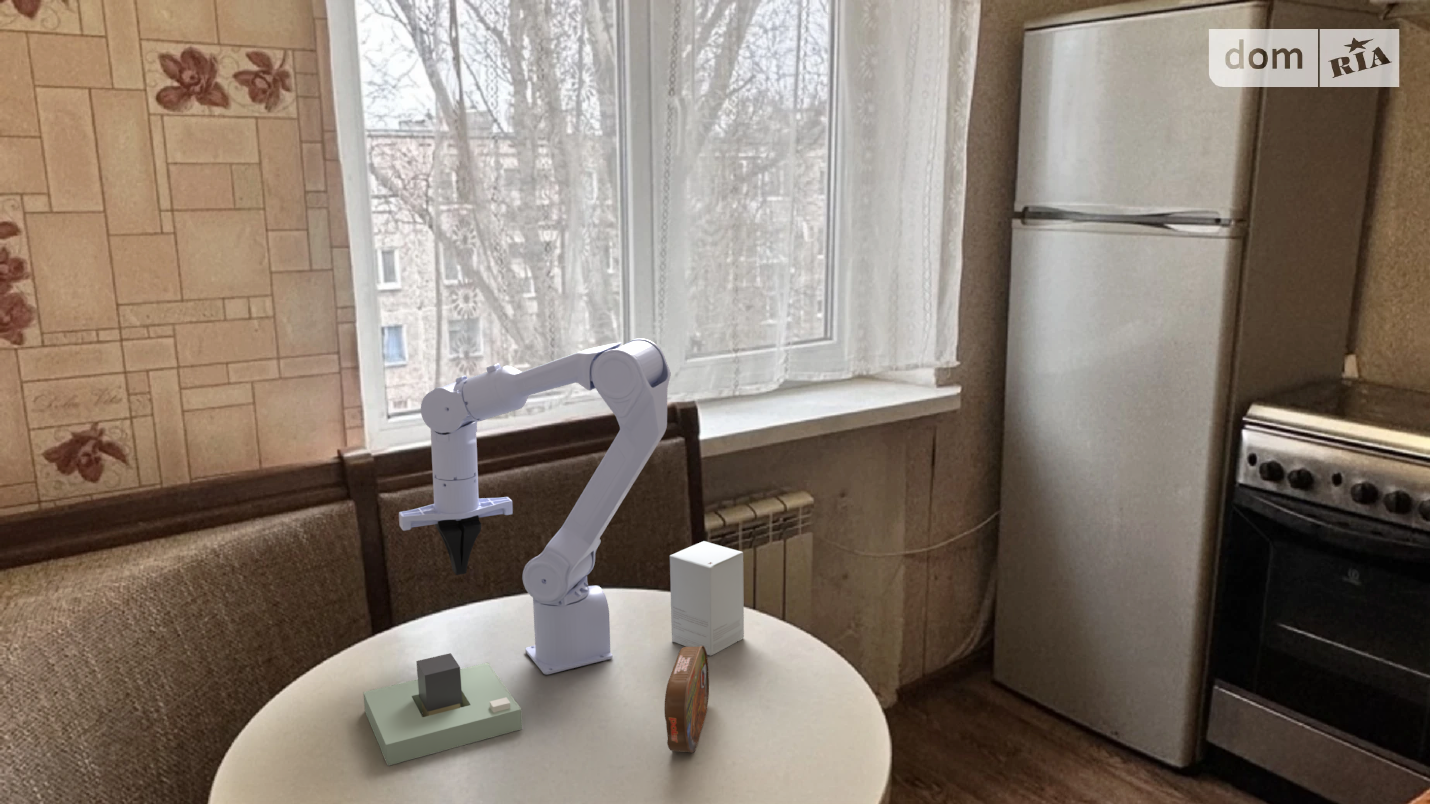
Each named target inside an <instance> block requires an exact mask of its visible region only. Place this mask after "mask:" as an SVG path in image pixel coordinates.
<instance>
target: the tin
mask: <svg viewBox="0 0 1430 804" xmlns="http://www.w3.org/2000/svg"><path fill="white" fill-rule="evenodd" d="M708 660H709V659H708V655H707V652H706V649H705V647H704V646H700V647H686V646H684V647H682V648H680V650H679V652H678V655H677V657H676V660H675V663H674V665H673V666H672V670H671V673H670V675H669V678H668V681H667V684H666V689H665V694H664V695H665V696H664V718H665V724H666V725H665V726H666V736H667V742H666V744H667V747H668V749H669V751H671V752H675V753H676V752H678V753H683V752H684V753H691V754H693V753H695V752H696V750H697V747H698V744H699V740H700V736H701V734H702V730H703V726H704V723H705V720H706V716H707V713H708V712H707V711H708V706H709V697H710V674H709V673H710V672H709V671H710V670H709V661H708Z"/></svg>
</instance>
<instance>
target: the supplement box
mask: <svg viewBox="0 0 1430 804" xmlns="http://www.w3.org/2000/svg"><path fill="white" fill-rule="evenodd" d="M669 571H670V572H669V575H670V580H669V582H670V615H671V617H670V618H671V620H670V621H671V622H670V623H671V624H670V625H671V642H672V643H675V644H678V645H682V646H684V647H700V646H704V647H705V649H706V652H707V656H713V655H715V654H718V653H719V652H721V651H723V650H725V649H727V648H728V647H730V646H732V645H734V644H736V643H737V641H738V642H739V641H741V640H743V639H744V637H745V621H744V619H745V611H744V610H745V609H744V606H745V605H744V602H745V601H744V552H743V551H740V550H737V549H733V548H730V547H727V546H722V545H719V544H715V543H712V542H709V541H706V540H703V541H701V542H699V543H695V544H693V545H690V546H689V547H686V548H684V549H681V550H679V551H677V552H675V553H673V554H670V555H669Z"/></svg>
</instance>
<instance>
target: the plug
mask: <svg viewBox="0 0 1430 804" xmlns="http://www.w3.org/2000/svg"><path fill="white" fill-rule="evenodd" d="M460 669H461V667H460V665H459V663H458V662H457V660H456V659H455V658H454V656H453V654H452V653H446V654H445V653H444V654H441V655H440V654H439V655H437V656H433V657H432V656H431V657H429V658H423V659H419V660H416V674H417V675H416V676H417V679H418V689H419V697H420V699H421V701H422V713H421V715H422V717H426V716H430V715H434V714H438V713H442V712H446V711H449V710H453V709H457V708H461V706H460V703H462V690H461V675H460Z"/></svg>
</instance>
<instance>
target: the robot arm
mask: <svg viewBox="0 0 1430 804" xmlns="http://www.w3.org/2000/svg"><path fill="white" fill-rule="evenodd" d="M621 344H623V343H622V342H613V343H608V344H602V345H599V346H595V347H589V348H586V349H583V350H580V351H577V352H574V353H572V354H569V355H566V356H563V357H560V358H557V359H555V360H554V359H553V360H551V361H549V362H547V363H543V364H541V365H537V366H534V367H532V368H529V369H526V370H524V371H521V370H520V369H517V368H516V367H513V366H512V365H504V366H501V364H500V363H499V362H498V363H496V364H492V365H490V366H487V367H486V368H485V369H486V372H483V373H482V372H481V373H480V374H477V375H474V376H471V377H468V376H467V375H461V376H459V377H457V378H455V381H453V382H451V383H448V384H446V385H443V386H438V387H435V388H434V389H433V390H431V391H429V392H427V393H426V394H425V396H424V397H422V398H423V399H422V400H421V403H420V414H421V418H422V420H423V423H425V425H426V426H427V427H428V428H429V429H430V444H431V445H430V446H431V464H432V466H431V467H432V485H433V486H432V487H433V489H432V490H433V503H432V504H428V505H425V506H421V507H418V508H414V509H408V510H403V511H399V512H398V521H399V527H400V529H401V530H402V531H403V532H405V531H410V530H412V528H418V527H425V526H431V525H434V527H435V528H436V530H437V532H438V533H439V535H440V538H441V539H442V541H443V543H444V546H445V548H446V551H447V554H448V557H449V560H450V563H451V569H452V572H453V573H454V574H455V575H456V576H458V575H464V574H467V570H468V566H469V565H468V564H469V561H470V556H471V553H472V549H473V547H474V545H475V543H476V540H477V538H478V536H479V535H480V533H481V531H482V522H481V521H480V518H485V517H490V516H497V515H505V516H509V515H510V516H511V515H513V514H514V513H513V511H514V510H513V509H514V508H513V500H512V499H511V498H510V497H509V496H504V497H486V498H485V497H484V498H483V497H482V498H480V497H479V494H480V493H479V471H478V469H479V468H478V447H477V446H478V445H477V442H478V441H477V432H478V423H479V422H482V421H485V420H489V419H491V418H494V417H498V416H502V415H504V414H508V413H511V412H514V411H518V410H521V409H522V408H524V407H525V404H526V403H527V401H528V398H529V396H531V395H532V396H533V395H535V394H540V393H542V392H543V393H544V392H547V391H550V390H555V389H557V388H561V387H565V386H568V385H572V384H575V383H577V384H578V385H580V386H581V387H583V388H584V389H585V390H587V391H592V390H594V389H595V390H596V391H597V393H598V394H599V395H600V397H601V399H603V401H604V402H605V404H606V405H607V407H608V408H609V409H610V411H611V412H612V414H614V416H615V418H616V421H617V423H618V425H619V431H618V433H617V434H616V436H615V438H614V439H613V441H612V443H611V444H610V446H609V448H608V449H607V451H606V453H605V455H604V456H603V458H602V459H601V461H600V463H599V464H598V466H597V468H596V469H595V471H594V473H593V474H592V476H591V478H590V480H589V481H588V482H587V484H586V486H585V488H584V489H583V491H582V493H581V494H580V496H579V497H578V499H577V501H576V502H575V505H574V506H573V507H572V510H571V511H570V513H569V514H568V516H567V518H566V519H565V521H564V523H562V526H560V527H561V528H559V530H558V531H557V532H556V533H555V534H554V536H553V537H551V539H550V540H549V542H548V543H547V544H546V546H545V547H544V549H543V550H542V552H541V553H540V554H538V555H537V556H534V557H533V558H531V559H530V560H529V561H528V562H527V563H526V564H525V566H524V568H523V569H522V570H523V571H522V583H523V586H524V588H525V590H526V592H527V594H528V595H529V596H530V597H532V605H533V607H532V608H533V609H532V610H533V623H534V624H533V625H534V626H533V627H534V629H533V631H534V645H531V646H527V647H525V650H524V652H525V653H526V654H527V655H528V656H529V657H530V658H531V660H532V661H533V663H535V665H536V667H537V668H538V669H539V670H540V671H541V672H542V674H543V675H551V674H555V673H560V672H563V671H567V670H571V669H574V668H575V669H576V668H579V667H583V666H587V665H592V664H595V663H599V662H602V661H607V660H611V659H613V656H614V654H613V653H612V652H611V631H610V630H611V629H610V627H611V626H610V625H611V624H610V609H609V603H608V599H607V596H606V594H605V592H604V589H602V587H600V585H589V583H588V575H589V574H590V573H591V572H592V570H593V569H594V566H595V562H596V553H597V550H598V547H599V546H600V544H601V539H600V538H601V536H602V535H603V533H604V532H605V530H606V529H607V526H609V523H610V522H611V521H612V519H613V517H614V515H615V514H616V512H617V511H618V509H619V507H620V506H621V504H622V503H623V501H624V499H625V498H626V496H627V495H628V493H629V491H630V490H631V488H632V487H633V484H635V482H636V480H637V479H638V477H639V475H640V473H641V472H642V470H643V469H644V467H645V466H646V464H647V462H648V461H649V459H650V457H651V456H652V454H653V453H654V451H655V450H656V448H657V446H658V445H659V444H660V442H661V440H662V438H663V437H664V435H665V433H666V430H667V426H668V387H669V383H670V379H671V370H670V368H669V365H668V362H667V359H666V358H665V355H664V353H663V351H662V349H661V348H660V346H659V345H657V343H655V342H654V341H652V340H650V339H646V338H634V339H631V340H629V341H627V342H626V343H625V344H623V345H621Z"/></svg>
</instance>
